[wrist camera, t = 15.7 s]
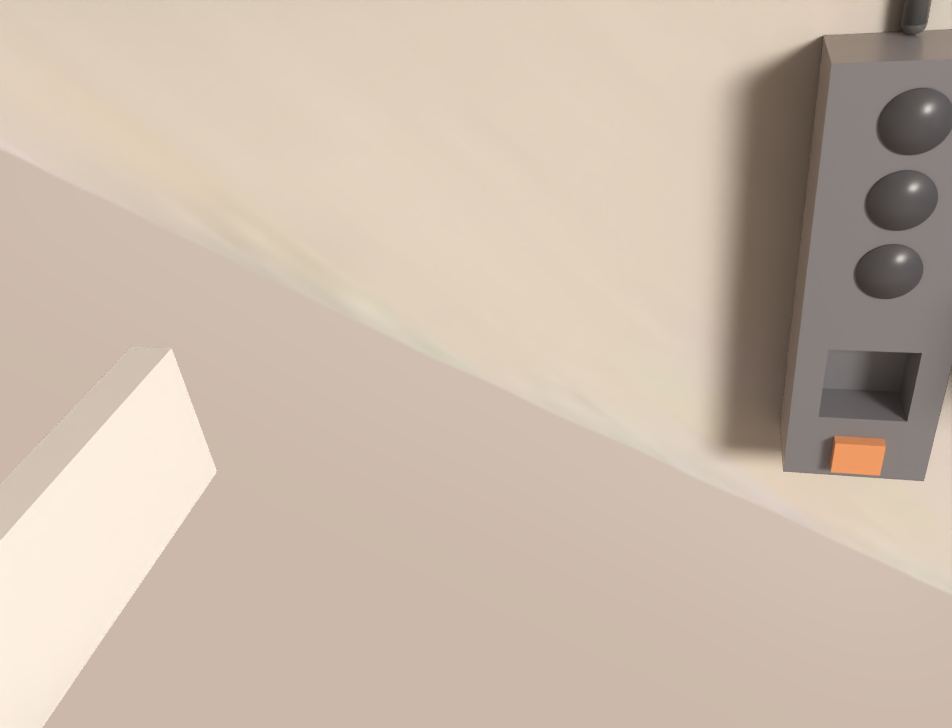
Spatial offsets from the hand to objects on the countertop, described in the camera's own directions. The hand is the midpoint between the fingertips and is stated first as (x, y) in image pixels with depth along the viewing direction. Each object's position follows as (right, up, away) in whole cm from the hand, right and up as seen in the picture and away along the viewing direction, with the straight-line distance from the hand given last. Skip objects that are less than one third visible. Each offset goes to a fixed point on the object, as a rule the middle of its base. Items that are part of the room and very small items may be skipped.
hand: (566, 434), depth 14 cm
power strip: (+18, +9, +28) cm, 35 cm away
